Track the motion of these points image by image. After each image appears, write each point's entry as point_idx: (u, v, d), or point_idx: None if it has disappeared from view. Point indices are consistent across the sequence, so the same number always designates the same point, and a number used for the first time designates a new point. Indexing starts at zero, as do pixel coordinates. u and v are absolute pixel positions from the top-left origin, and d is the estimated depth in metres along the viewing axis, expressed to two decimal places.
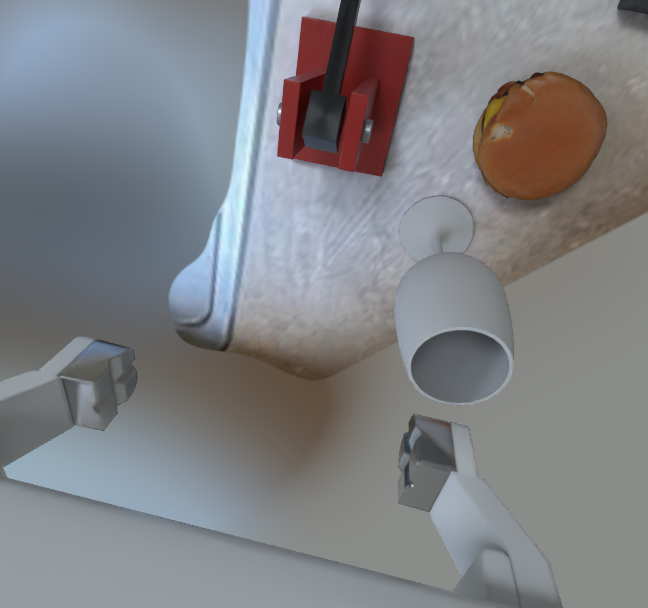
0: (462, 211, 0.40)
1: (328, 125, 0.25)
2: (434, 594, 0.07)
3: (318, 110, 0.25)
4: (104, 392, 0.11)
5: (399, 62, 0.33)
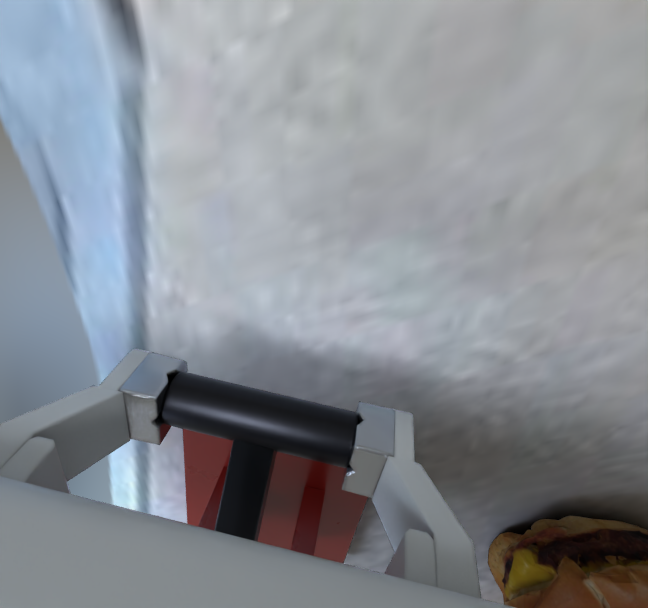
0: None
1: None
2: (434, 594, 0.07)
3: None
4: (162, 406, 0.11)
5: None
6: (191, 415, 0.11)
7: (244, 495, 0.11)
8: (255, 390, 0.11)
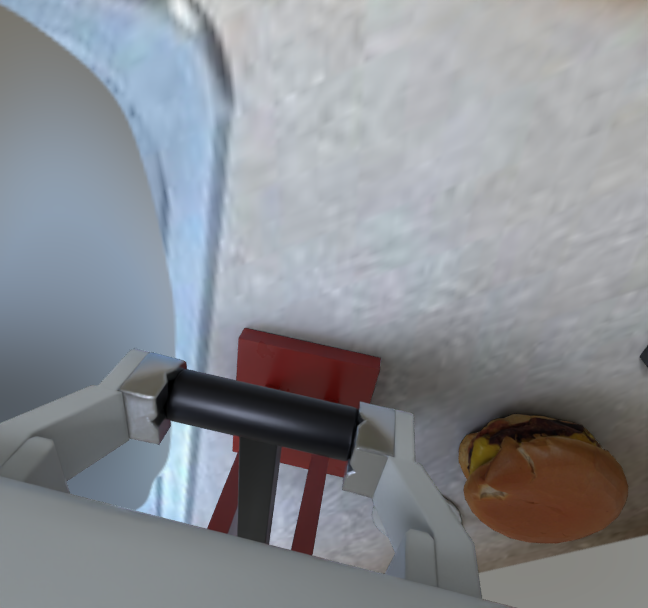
0: None
1: None
2: (434, 594, 0.07)
3: None
4: (162, 406, 0.11)
5: (363, 389, 0.26)
6: (195, 423, 0.11)
7: (258, 467, 0.12)
8: (253, 395, 0.11)
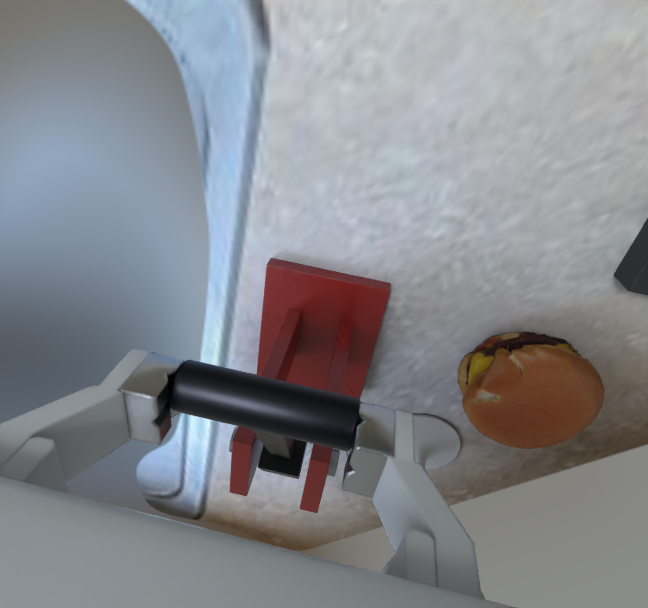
0: (448, 430, 0.36)
1: (286, 475, 0.23)
2: (434, 594, 0.07)
3: (272, 471, 0.23)
4: (162, 406, 0.11)
5: (375, 310, 0.30)
6: (200, 416, 0.11)
7: (269, 432, 0.13)
8: (252, 397, 0.11)
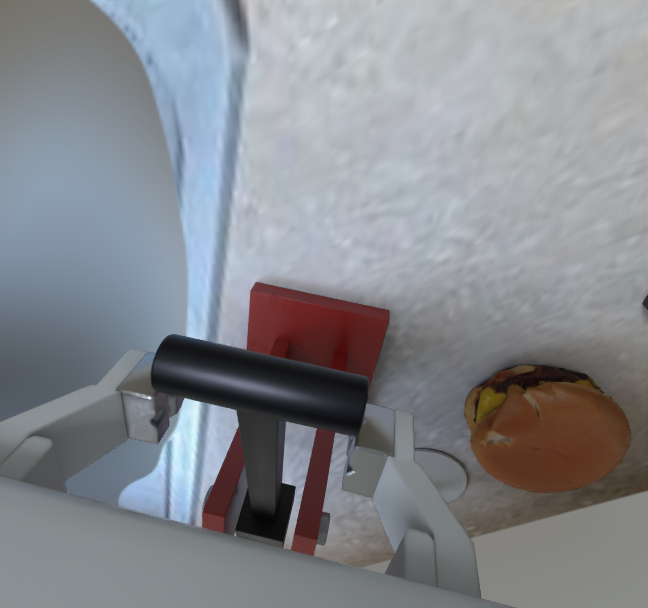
0: (453, 466, 0.33)
1: None
2: (434, 594, 0.07)
3: (251, 539, 0.19)
4: (160, 406, 0.11)
5: (372, 340, 0.27)
6: (185, 396, 0.10)
7: (260, 434, 0.11)
8: (248, 366, 0.10)
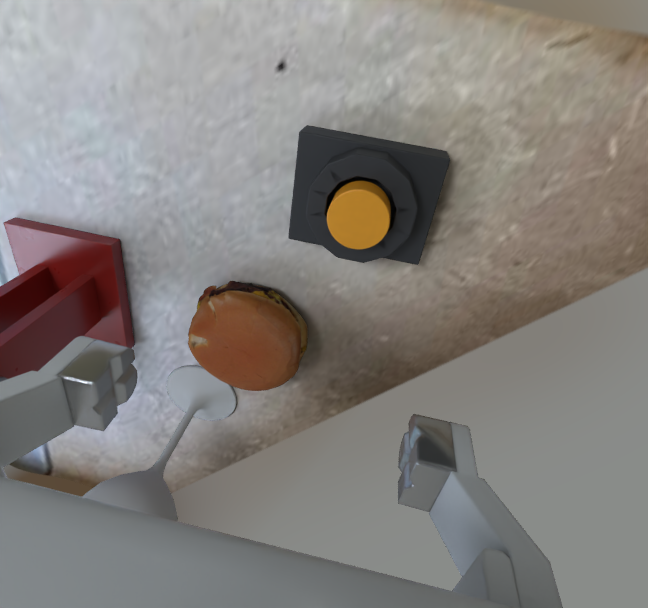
0: (217, 380, 0.39)
1: None
2: (434, 594, 0.07)
3: None
4: (104, 392, 0.11)
5: (106, 264, 0.33)
6: None
7: None
8: None
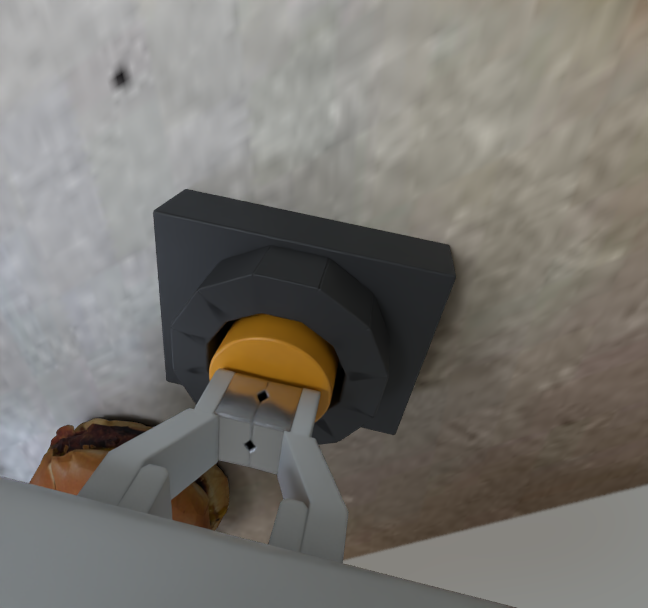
0: None
1: None
2: (434, 594, 0.07)
3: None
4: None
5: None
6: None
7: None
8: None
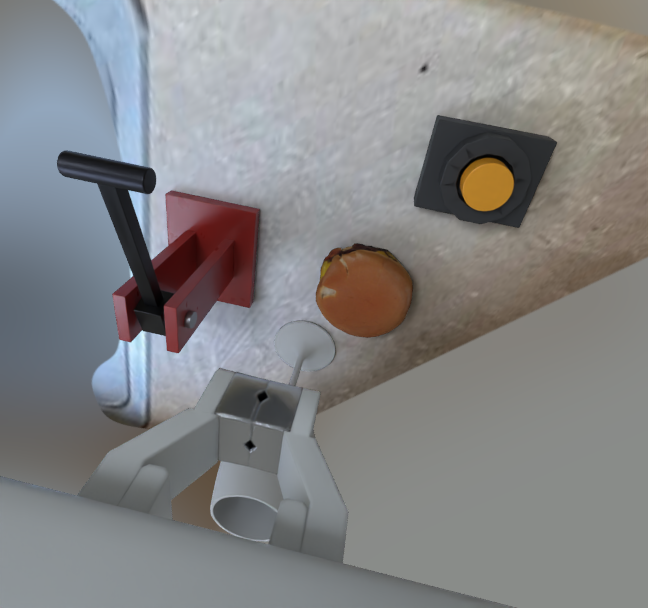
0: (322, 333, 0.46)
1: (157, 328, 0.33)
2: (434, 594, 0.07)
3: (145, 321, 0.33)
4: None
5: (248, 229, 0.40)
6: (72, 174, 0.23)
7: (114, 205, 0.24)
8: (97, 160, 0.23)
